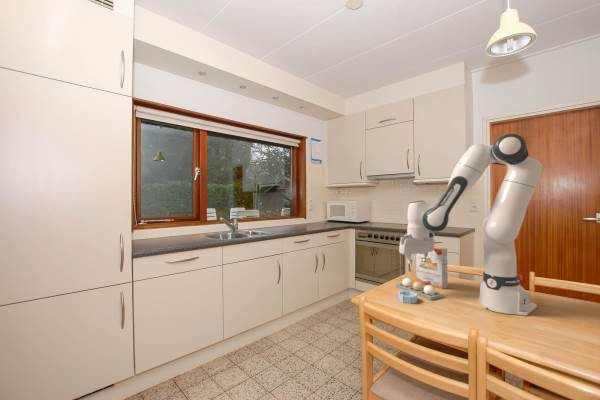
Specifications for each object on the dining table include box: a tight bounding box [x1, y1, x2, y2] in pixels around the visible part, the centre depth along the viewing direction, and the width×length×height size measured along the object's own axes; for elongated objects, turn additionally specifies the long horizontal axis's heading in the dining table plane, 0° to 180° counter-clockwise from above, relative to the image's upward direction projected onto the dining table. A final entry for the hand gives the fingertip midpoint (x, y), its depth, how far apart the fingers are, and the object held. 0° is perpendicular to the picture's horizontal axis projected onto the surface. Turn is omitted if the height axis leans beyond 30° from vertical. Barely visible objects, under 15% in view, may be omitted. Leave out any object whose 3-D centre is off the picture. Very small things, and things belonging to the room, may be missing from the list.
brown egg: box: [412, 280, 425, 292], centre depth 132 cm, size 5×5×5 cm
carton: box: [395, 282, 444, 301], centre depth 132 cm, size 8×21×2 cm, turn 25°
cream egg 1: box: [401, 277, 414, 288], centre depth 138 cm, size 5×5×5 cm
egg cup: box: [397, 289, 418, 305], centre depth 122 cm, size 8×8×4 cm
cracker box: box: [415, 246, 448, 290], centre depth 142 cm, size 14×6×21 cm, turn 36°
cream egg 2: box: [424, 285, 436, 296], centre depth 126 cm, size 5×5×5 cm
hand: (416, 262), depth 132 cm, fingers open, 8 cm apart
